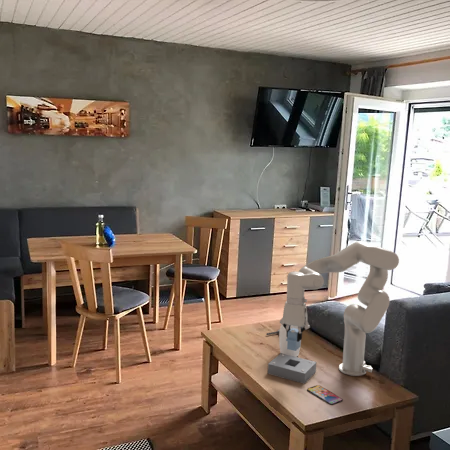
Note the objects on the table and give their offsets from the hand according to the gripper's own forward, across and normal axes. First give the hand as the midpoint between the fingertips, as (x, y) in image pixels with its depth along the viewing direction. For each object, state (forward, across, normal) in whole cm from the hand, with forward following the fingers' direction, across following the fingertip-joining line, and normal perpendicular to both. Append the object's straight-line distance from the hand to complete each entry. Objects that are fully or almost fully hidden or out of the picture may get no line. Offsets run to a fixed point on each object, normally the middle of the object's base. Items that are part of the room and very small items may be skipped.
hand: (294, 339), depth 229 cm
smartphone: (+20, -17, +7) cm, 27 cm away
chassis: (+19, +3, -6) cm, 20 cm away
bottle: (+19, +11, -24) cm, 33 cm away
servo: (+4, 0, 0) cm, 4 cm away
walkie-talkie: (+20, +22, -47) cm, 55 cm away
